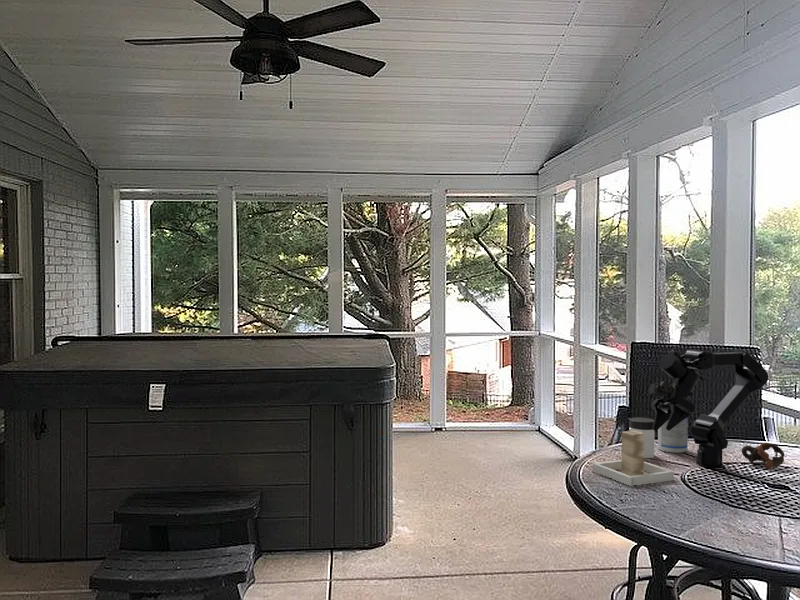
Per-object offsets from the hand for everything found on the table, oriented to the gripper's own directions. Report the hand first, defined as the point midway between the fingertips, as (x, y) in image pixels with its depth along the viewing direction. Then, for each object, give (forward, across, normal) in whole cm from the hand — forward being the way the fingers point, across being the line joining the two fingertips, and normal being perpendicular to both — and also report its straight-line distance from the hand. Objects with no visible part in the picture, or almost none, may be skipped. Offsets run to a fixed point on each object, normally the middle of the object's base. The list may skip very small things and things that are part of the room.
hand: (660, 430), depth 211 cm
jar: (+6, -22, +7) cm, 24 cm away
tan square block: (+17, +1, -2) cm, 17 cm away
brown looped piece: (-9, -9, +37) cm, 39 cm away
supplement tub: (-3, -29, +17) cm, 34 cm away
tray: (+17, +1, -2) cm, 17 cm away
